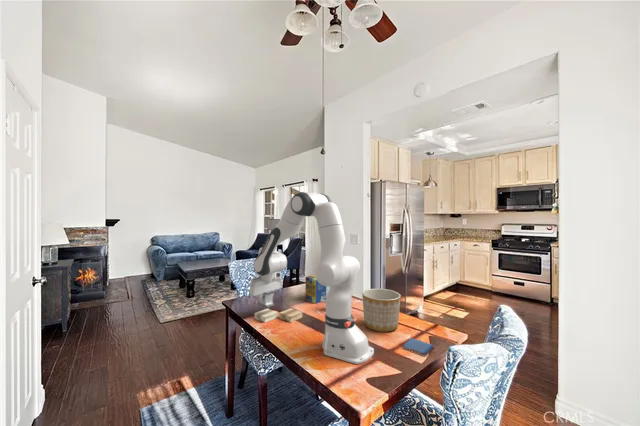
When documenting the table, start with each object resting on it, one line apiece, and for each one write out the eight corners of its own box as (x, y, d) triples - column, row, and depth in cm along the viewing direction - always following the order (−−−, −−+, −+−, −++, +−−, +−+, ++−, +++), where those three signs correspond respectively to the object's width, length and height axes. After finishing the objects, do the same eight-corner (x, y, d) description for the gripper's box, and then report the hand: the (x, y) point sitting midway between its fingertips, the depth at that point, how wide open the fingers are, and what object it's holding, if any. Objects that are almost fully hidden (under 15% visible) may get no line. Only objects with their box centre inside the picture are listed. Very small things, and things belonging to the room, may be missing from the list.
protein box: (305, 300, 181) (305, 276, 181) (322, 295, 192) (322, 273, 191) (315, 304, 173) (315, 279, 173) (332, 298, 184) (332, 275, 184)
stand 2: (302, 317, 152) (302, 311, 152) (290, 322, 145) (290, 316, 145) (290, 313, 158) (290, 308, 158) (279, 318, 151) (279, 312, 151)
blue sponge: (411, 341, 126) (411, 336, 126) (434, 349, 119) (434, 344, 119) (400, 349, 118) (400, 344, 118) (425, 358, 111) (425, 353, 111)
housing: (274, 305, 150) (274, 290, 150) (267, 307, 146) (267, 292, 146) (264, 302, 155) (265, 288, 155) (257, 304, 151) (257, 290, 151)
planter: (371, 315, 155) (371, 286, 155) (405, 323, 144) (405, 292, 144) (355, 327, 139) (355, 295, 139) (392, 337, 128) (392, 302, 128)
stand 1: (277, 317, 151) (277, 312, 151) (265, 322, 144) (265, 317, 144) (267, 313, 157) (267, 308, 157) (254, 318, 150) (254, 312, 150)
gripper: (254, 279, 140) (254, 306, 141) (283, 272, 156) (283, 296, 156) (246, 277, 144) (246, 303, 145) (276, 271, 160) (276, 294, 160)
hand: (266, 300), depth 151 cm, fingers closed on housing, 5 cm apart
